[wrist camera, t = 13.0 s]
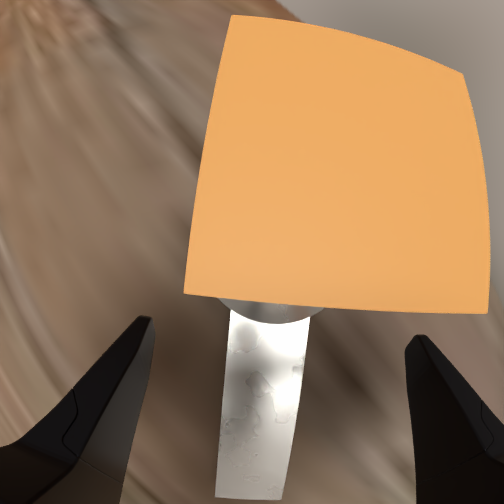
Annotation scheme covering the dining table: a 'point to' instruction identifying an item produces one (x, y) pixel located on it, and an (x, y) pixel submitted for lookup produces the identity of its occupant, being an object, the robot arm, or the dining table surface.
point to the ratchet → (260, 397)
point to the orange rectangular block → (339, 177)
